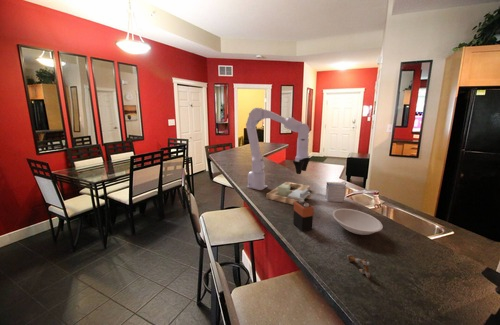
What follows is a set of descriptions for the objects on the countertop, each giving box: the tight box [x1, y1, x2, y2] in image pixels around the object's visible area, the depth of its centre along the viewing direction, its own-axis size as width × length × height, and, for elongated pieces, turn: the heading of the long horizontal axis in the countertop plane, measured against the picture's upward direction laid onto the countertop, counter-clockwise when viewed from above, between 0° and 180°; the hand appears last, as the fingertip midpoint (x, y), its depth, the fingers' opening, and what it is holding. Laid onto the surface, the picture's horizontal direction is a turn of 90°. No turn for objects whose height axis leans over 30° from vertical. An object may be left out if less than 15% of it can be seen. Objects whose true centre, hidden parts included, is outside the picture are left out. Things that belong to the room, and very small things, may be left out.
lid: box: [288, 189, 311, 201], centre depth 107 cm, size 8×10×3 cm
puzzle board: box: [266, 181, 312, 206], centre depth 115 cm, size 18×24×2 cm
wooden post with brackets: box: [346, 254, 371, 279], centre depth 60 cm, size 2×8×4 cm, turn 11°
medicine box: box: [325, 181, 347, 203], centre depth 107 cm, size 8×4×9 cm, turn 84°
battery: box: [292, 199, 314, 232], centre depth 82 cm, size 4×7×10 cm, turn 20°
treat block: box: [277, 183, 291, 197], centre depth 111 cm, size 4×4×6 cm
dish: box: [332, 208, 384, 236], centre depth 79 cm, size 18×14×5 cm
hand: (301, 172), depth 119 cm, fingers open, 7 cm apart
